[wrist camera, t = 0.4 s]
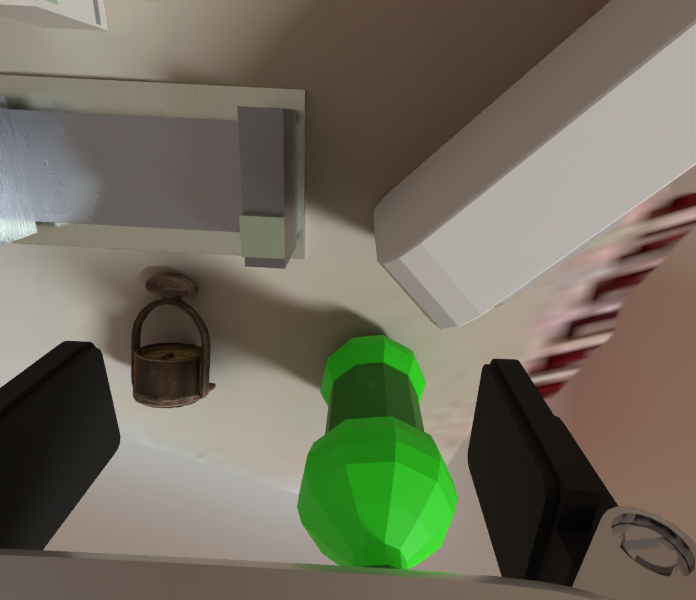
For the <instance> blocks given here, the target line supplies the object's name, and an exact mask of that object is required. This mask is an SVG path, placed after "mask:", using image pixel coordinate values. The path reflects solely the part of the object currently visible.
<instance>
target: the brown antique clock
mask: <svg viewBox="0 0 696 600" xmlns="http://www.w3.org/2000/svg"><path fill="white" fill-rule="evenodd" d="M146 289H147V290H148V291H150V292H154V293H159V294H161V295H162V299H161V300H156V301H154V302H152V303H150V304H148V305H147V306H146V307H144V308H143V309H142V310H141V312H140V313H139V314H138V316H137V318H136V320H135V322H134V325H133V329H132V368H131V378H132V385H133V386H132V387H133V397H134V399H135V400H136V401H137V402H138V403H140V404H143V405H146V406H150V407H154V408H156V407H157V408H173V407H176V408H177V407H182V406H184V405H190V404H193V403H195V402H196V401H198V400H199V399H202V398H204V397H206V396H207V395H208V392H210V391H211V390H213V389H214V388H216V385H215V384H214V383H209V368H210V338H209V333H208V329H207V327H206V325H205V323H204V322H203V320H202V318H201V317H200V316H199V314H198V313H197V312H196V310H194V309H193V308H192V307H191V306H190V305H188V304H187V303H185V302H183V301H182V300H181V296H193V297H194V296H196V295H197V293H198V289H197V287H196V285H195V284H194V283H193V282H191V281H190V280H188V279H187V278H185V277H184V276H182V275H179V274H176V273H163V274H159V275H156V276H154V277H152V278H150V279H149V280H148V281H147V282H146ZM163 304H168V305H174V306H177V307H179V308H181V309H182V310H184V311H185V312H186V313H187V314H189V315H190V316H191V317H192V319H193V321H194V322H195V324H196V326H197V327H198V330H199V332H200V336H201V341H202V347H200V346H197V345H193V344H181V343H158V344H151V345H147V346H143V347H141V348H140V340H141V326H142V323H143V321H144V320H145V318H146V317H147V315H148V314H149V313H150V311H151V310H153V309H154V308H155V307H157V306H160V305H163Z"/></svg>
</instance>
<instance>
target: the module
mask: <svg viewBox="0 0 696 600" xmlns="http://www.w3.org/2000/svg"><path fill="white" fill-rule="evenodd" d="M0 15H1V16H5V17H8V18H12V19H16V20H19V21H23V22H26V23H30V24H33V25H37V26H40V27H44V28H63V29H84V30H105V31H108V29H107V23H106V16H105V9H104V2H103V0H0Z"/></svg>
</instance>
